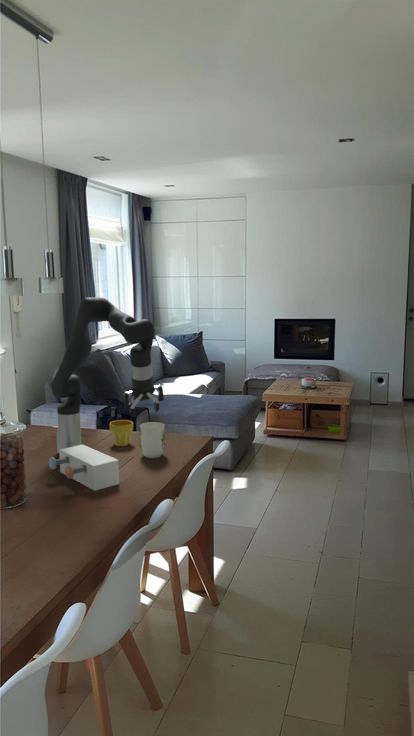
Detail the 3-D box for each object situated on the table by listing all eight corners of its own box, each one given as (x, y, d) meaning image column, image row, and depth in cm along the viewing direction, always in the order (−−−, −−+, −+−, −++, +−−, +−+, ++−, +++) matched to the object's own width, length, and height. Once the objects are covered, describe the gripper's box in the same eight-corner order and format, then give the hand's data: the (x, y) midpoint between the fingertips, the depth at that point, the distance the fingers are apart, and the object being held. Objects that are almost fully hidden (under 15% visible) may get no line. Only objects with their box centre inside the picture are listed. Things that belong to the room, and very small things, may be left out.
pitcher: (168, 448, 250) (167, 417, 248) (164, 461, 233) (163, 428, 231) (143, 448, 251) (142, 417, 249) (136, 461, 233) (136, 428, 231)
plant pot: (131, 447, 253) (131, 425, 251) (108, 447, 253) (107, 425, 251) (135, 440, 263) (134, 419, 261) (112, 440, 263) (111, 419, 262)
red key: (71, 480, 200) (70, 467, 199) (65, 476, 203) (64, 464, 203) (93, 474, 205) (92, 462, 205) (86, 471, 209) (86, 459, 208)
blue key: (54, 470, 210) (53, 459, 209) (48, 467, 213) (48, 456, 212) (75, 465, 215) (75, 454, 214) (69, 462, 218) (69, 451, 218)
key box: (94, 490, 202) (93, 466, 200) (60, 472, 221) (59, 449, 220) (119, 484, 208) (118, 460, 207) (83, 466, 227) (82, 444, 226)
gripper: (158, 366, 207) (160, 404, 215) (119, 373, 203) (123, 412, 210) (164, 375, 201) (166, 414, 209) (124, 383, 197) (128, 422, 204)
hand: (144, 413), depth 210 cm, fingers open, 8 cm apart
